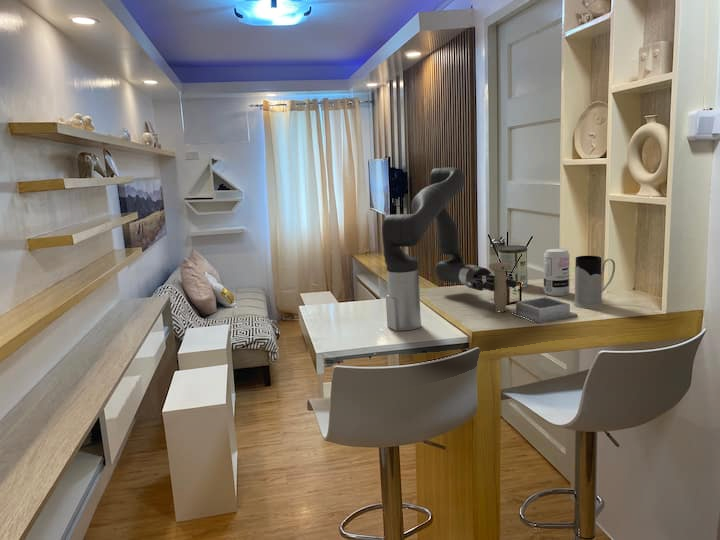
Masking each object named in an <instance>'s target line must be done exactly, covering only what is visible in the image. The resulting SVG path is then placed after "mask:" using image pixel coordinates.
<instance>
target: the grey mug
mask: <svg viewBox="0 0 720 540" xmlns="http://www.w3.org/2000/svg"><path fill="white" fill-rule="evenodd" d="M608 261H610V262H612V271H611V276H610V278H609V279H608V281H607V283H606V284H605V285H604V286H603V285H602V284H603V282H602V281H603V273H605V265H606V263H607V262H608ZM615 271H616V263H615V260H613V258H612V259H611V258H606V259H605V260H603V262H602V257H601V256H598V255H580V256H576V257H575V266H574V302H573V304H572V305H573V306H574V307H576V308H581V309H599V308H602V307H604V304H603V302H602V294H603V292H604V290H606V289H607V287H608V286H609V285H610V284H611V282H612V280H613V278H614V276H615Z"/></svg>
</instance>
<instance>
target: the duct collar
mask: <svg viewBox="0 0 720 540" xmlns="http://www.w3.org/2000/svg"><path fill="white" fill-rule="evenodd" d="M515 307H516V309H513V310H509V311H508V313H509V312H510V313H513V314H516V315H519V316H522V317H525V318H527V319H529V320H532V321H534V322H533V323H535V322H536V323H535V324H537V323H538V325H540V324H544V323H550V322H555V321H559V320H566V319H570V318H575V317H578V313H576V312H575V313H574V312H572V311H571V304H570V303H567V302H564V301H561V300H558V299H554V298H551V297H548V296H543V297H537V298H531V299H526V300H525V299H524V300H520V301H516V302H515ZM510 313H509V314H510ZM513 314H512V315H513ZM516 315H515V316H516ZM519 316H518V317H519ZM527 319H526V320H527ZM529 320H528V321H529ZM532 321H531V322H532ZM539 323H540V324H539Z"/></svg>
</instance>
